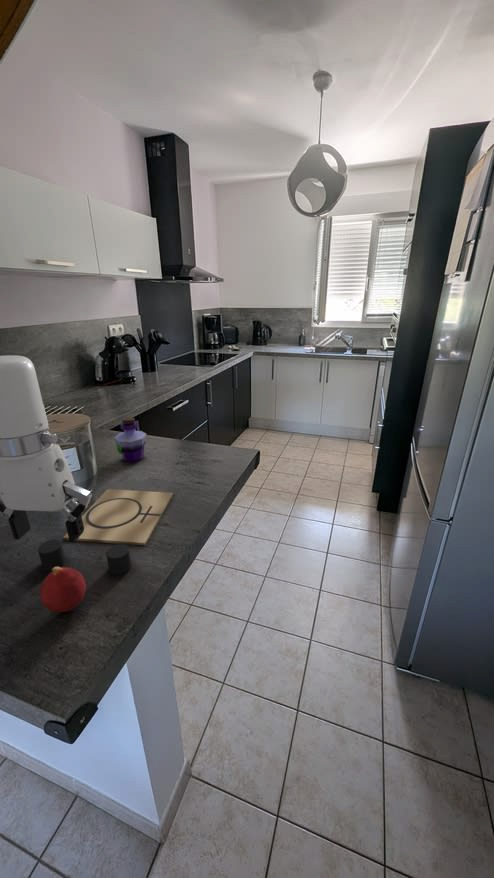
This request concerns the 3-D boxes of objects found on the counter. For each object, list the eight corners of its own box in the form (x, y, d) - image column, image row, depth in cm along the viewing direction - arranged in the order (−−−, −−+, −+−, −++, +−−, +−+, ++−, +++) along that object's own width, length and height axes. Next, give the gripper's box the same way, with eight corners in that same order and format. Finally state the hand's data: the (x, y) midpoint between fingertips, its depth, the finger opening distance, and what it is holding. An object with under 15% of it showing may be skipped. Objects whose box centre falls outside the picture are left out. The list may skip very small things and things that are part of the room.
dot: (37, 569, 60) (33, 552, 59) (50, 555, 64) (46, 538, 62) (57, 571, 60) (53, 553, 58) (69, 556, 63) (65, 539, 62)
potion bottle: (110, 461, 99) (104, 420, 94) (132, 450, 106) (127, 411, 101) (134, 467, 95) (128, 425, 91) (155, 455, 102) (151, 416, 98)
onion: (73, 588, 56) (63, 547, 53) (97, 603, 54) (88, 561, 51) (38, 615, 52) (24, 572, 49) (62, 632, 49) (50, 588, 46)
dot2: (105, 574, 59) (102, 557, 58) (115, 559, 62) (112, 543, 61) (126, 576, 59) (123, 559, 57) (134, 561, 62) (132, 544, 61)
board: (63, 539, 67) (62, 537, 67) (107, 491, 84) (107, 488, 84) (144, 545, 66) (144, 542, 66) (173, 494, 82) (173, 492, 82)
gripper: (91, 433, 55) (109, 524, 62) (-11, 431, 57) (17, 520, 64) (63, 452, 49) (87, 553, 55) (-52, 450, 50) (-15, 547, 57)
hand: (50, 535), depth 59 cm, fingers open, 9 cm apart
